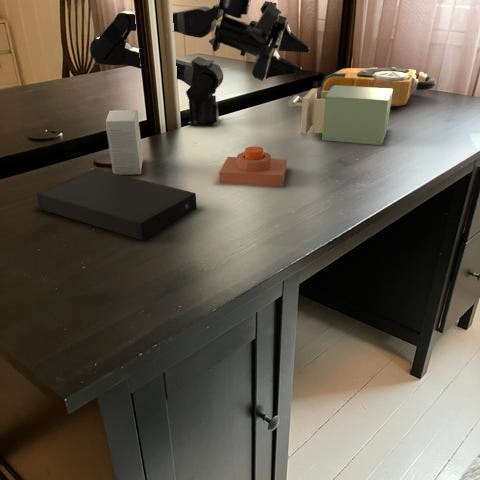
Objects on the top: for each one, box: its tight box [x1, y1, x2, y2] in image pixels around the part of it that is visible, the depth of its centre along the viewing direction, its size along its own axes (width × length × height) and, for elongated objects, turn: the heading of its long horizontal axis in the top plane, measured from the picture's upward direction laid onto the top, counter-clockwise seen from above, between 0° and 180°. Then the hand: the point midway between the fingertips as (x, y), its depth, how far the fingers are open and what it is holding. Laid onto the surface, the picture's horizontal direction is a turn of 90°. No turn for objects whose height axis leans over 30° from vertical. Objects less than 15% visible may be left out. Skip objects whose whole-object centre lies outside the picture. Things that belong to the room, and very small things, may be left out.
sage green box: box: [321, 85, 393, 146], centre depth 123 cm, size 14×12×10 cm
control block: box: [218, 151, 288, 187], centre depth 103 cm, size 12×9×4 cm
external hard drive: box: [36, 168, 198, 242], centre depth 91 cm, size 14×23×3 cm, turn 58°
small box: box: [104, 109, 144, 176], centre depth 106 cm, size 8×6×10 cm
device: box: [320, 66, 437, 108], centre depth 152 cm, size 23×8×30 cm
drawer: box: [287, 87, 330, 135], centre depth 125 cm, size 16×10×8 cm, turn 72°
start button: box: [244, 146, 265, 160], centre depth 102 cm, size 4×4×2 cm
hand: (304, 59), depth 123 cm, fingers open, 9 cm apart
